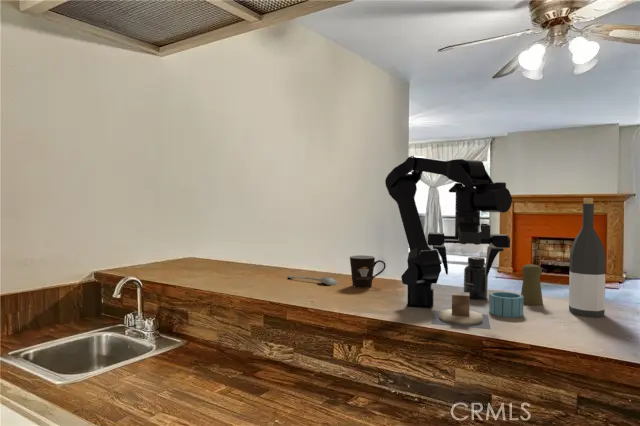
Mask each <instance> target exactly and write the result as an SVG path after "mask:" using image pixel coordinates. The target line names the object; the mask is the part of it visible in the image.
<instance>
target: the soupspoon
mask: <svg viewBox="0 0 640 426" xmlns="http://www.w3.org/2000/svg"><path fill="white" fill-rule="evenodd" d="M287 278H291V279H290V280H293V279H305V280H312V281H313V280H314V281H318V282H320V283H323V284H325V285H327V286H329V285H336V284H338V283H339V282H338V281H337V280H336V279H335V278H332V277H330V276H329V277H327V276H325V277H321V278H315V277H308V276H307V277H304V276H295V275H294V276H293V275H292V276H290V275H287V277H286V279H287ZM336 286H337V285H336Z"/></svg>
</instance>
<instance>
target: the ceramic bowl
mask: <svg viewBox="0 0 640 426" xmlns="http://www.w3.org/2000/svg"><path fill="white" fill-rule="evenodd" d="M488 295H489V296H488V312H489V314H492V315H494V316H498V317H503V318H519V317H520V318H521V317H523V316H524V305H525V304H524V297H523V295H521V293H515V292H508V291H492V292H489V293H488Z"/></svg>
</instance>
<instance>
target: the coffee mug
mask: <svg viewBox="0 0 640 426" xmlns="http://www.w3.org/2000/svg"><path fill="white" fill-rule="evenodd" d="M375 260H376V256H373V255H364V254H363V255H359V254H358V255H351V256H349V262H350V264H349V265H350V272H351V281H352V287H353V286H355V287H354V288H357V287H369V288H372V284H373V279H374V278H376V277H377V276H379V275H380V274H382V273H383V272H384V270H385V269H386V262H385V261H383V260H380V259H379V260H378V259H377V260H376V261H375ZM378 263H382V264H383V268H382V269H381V270H380V271H379V272H377V273H376V274H375V275H374V268H375V266H376V265H377V264H378Z"/></svg>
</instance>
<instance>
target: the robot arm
mask: <svg viewBox="0 0 640 426" xmlns="http://www.w3.org/2000/svg"><path fill="white" fill-rule="evenodd" d="M424 172H425V173H428V174H429V173H431V174H436V175H442V176H444V177H446V178H447V179H449V180H450V181H453V182H455V183H454V185H453V186H452V187H450V189H449V190H448V192H449V193H455V206H454V207H455V214H454V215H455V216H454V217H455V219H454V235H445V233H444V232H430V231H429V233H428V234H427V238H426V235H425V231H424V228H423V224H422V221H421V218H420V214H419V211H418V207H417V205H416V199H415V197H416V194H417V189H418V188H417V184H418V183H419V181H420V180H422V176H423V173H424ZM384 181H385V182H384V183H385V187H386V190H387V192H388V195H389V196H390V197H391V198H392V199H393V201H394V202H396V205H397V208H398V210H399V214H400V218H401V222H402V225H403V229H404V230H403V231H404V233H405V237H406V240H407V243H408V247H409V252H408V253H409V254H408V257H407V260H406V261H407V268H406V270H405V271H404V272H403V274H402V275H401V278H400V279H401V282H402V284H403V285H407V303H406V307H408V308H420V309H432V306H434V304H435V303H434V302H435V301H434V300H435V299H434V298H435V296H434V295H435V294H434V293H435V292H434V291H435V290H434V288H432V287H433V285H436V284H438V281H439V276H440V273H441V272H442V266H441V265H443V269H444V272H445V274H446V276H447V275H449V267H448V266H449V264H448V258H447V257H448V255H447V249H446V248H447V247H446V245H445V244H460V245H467V244H468V245H476V246H478V245H487V249H486V258H485V265H484V267H485V276H488V277H489V273H490V271H491V267H492V266H493V263H494V261H495V259H496V257H497V255H498V254H499V253H500V252H504V250H505V249H506V248H507V249H509V248H511V238H510V237H509V236H508V235H507V234H504V233H491V224H490V223H489V222H481V212H483V213H500V214H501V213H508V211H509V210H510V209H511V206H512V205H513V196H512V194H511V192H510V190H509V189H508V188H507V183H506V181H505V182H498V181H497V182H494V181H493V180H492V178H491V177H490V175H489V173H488V172H487V170H486V167H485V165H484V162H483V161H482V160H478V159H465V158H464V159H463V158H458V159H449V160H445V159H437V158H429V157H425V156H422V155H411V156H408V157H407V158H406V159H405V160H404V161H403V162H402V163H400V164H398V165H397V166H395V167H393V169H392V170H391V171H390V172H389V173H388V174H387V176H386V177H385V179H384ZM429 246H432V249H431V247H429ZM440 257H441V259H440ZM441 261H442V262H441Z"/></svg>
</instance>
